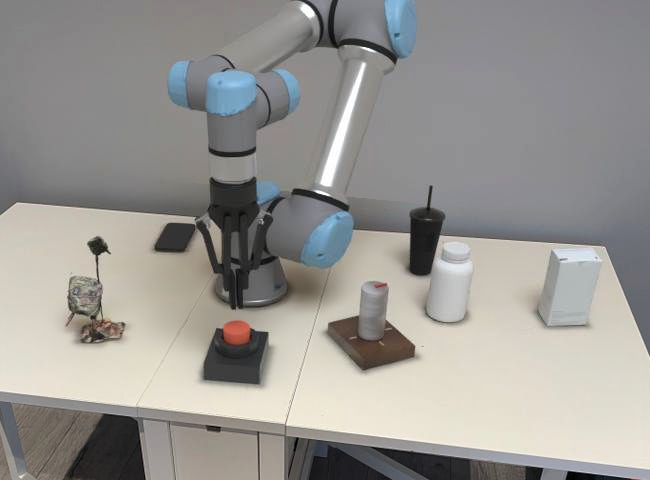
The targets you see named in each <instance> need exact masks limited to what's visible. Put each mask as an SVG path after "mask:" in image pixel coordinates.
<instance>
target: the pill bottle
mask: <svg viewBox="0 0 650 480" xmlns="http://www.w3.org/2000/svg"><path fill="white" fill-rule="evenodd" d="M470 254H471V247H470V246H469V245H468V244H466V243H464V242H459V241H448V242H446V243H444V244H443V245H442V248H441V254H440V255H438V256H437V257H436V258H434V261H433V266H432V270H431V273H430V274H431V275H430V280H429V287H428V294H427V300H426V314H427V315H428V316H429V317H430V318H431V319H433V320H435V321H438V322H442V323H458V322H459V321H462V320H463V319H464V318H465V316H466V313H467V308H468V304H469V303H468V302H469V297H470V292H471V286H472V281H473V275H474V270H475V268H474V267H475V265H474V263H473V261H472V260H471V258H470Z"/></svg>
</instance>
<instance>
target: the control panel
mask: <svg viewBox="0 0 650 480" xmlns="http://www.w3.org/2000/svg"><path fill="white" fill-rule="evenodd" d="M358 323H359V314H358V315H355V316H350V317H347V318H342V319H338V320H334V321H330V322H327V335H328V336H330V338H331V339H332V340H333V341H334V342H335V343H336V344H337V345H338V346H339V347H340V348H341V349H342V350H343V351H344V352H345V353H346V354H347V355H348V356H349V358H351V359H352V360H353V361H354V363H355V364H356V365H357V366H358V367H359V368H360V369H361V370H362V371H366V370H370V369H374V368H378V367H382V366H386V365H390V364H393V363H396V362H401V361H404V360H408V359H411V358H414V357H415V354H416V345H415V344H414V343H413V342H412V341H411V340H410V339H409V338H407V336H405V335H404V334H403V333H402V332H401V331H400V330H398V329H397V328H396V327H395V325H393V324H392V323H391V322H390V321H388V320H387V319H386V321H385V331H384V336H383V338H381V339H379V340H375V341H370V340H365V339H363V338H361V337H360V336H359V335H358Z"/></svg>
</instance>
